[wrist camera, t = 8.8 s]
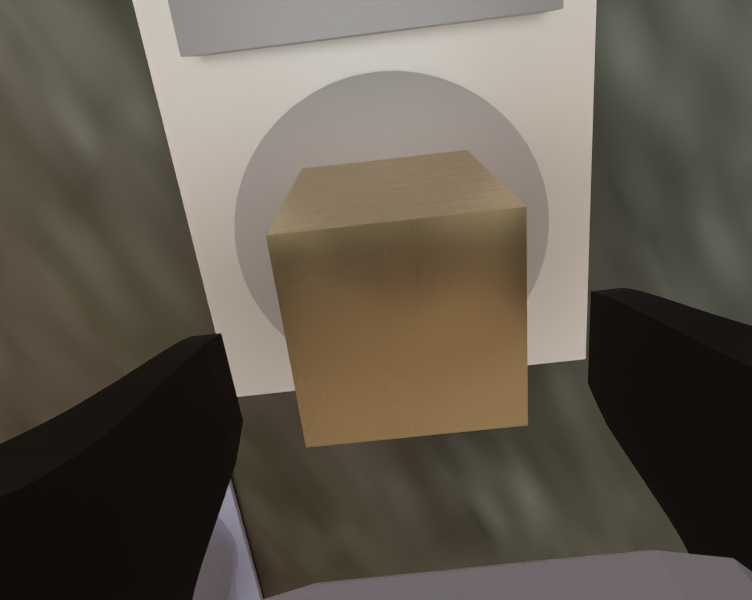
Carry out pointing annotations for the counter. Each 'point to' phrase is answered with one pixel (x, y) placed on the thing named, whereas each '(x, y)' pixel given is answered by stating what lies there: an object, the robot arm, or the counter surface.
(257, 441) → the counter surface
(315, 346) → the block
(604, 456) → the counter surface
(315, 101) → the kitchen scale
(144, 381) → the robot arm
